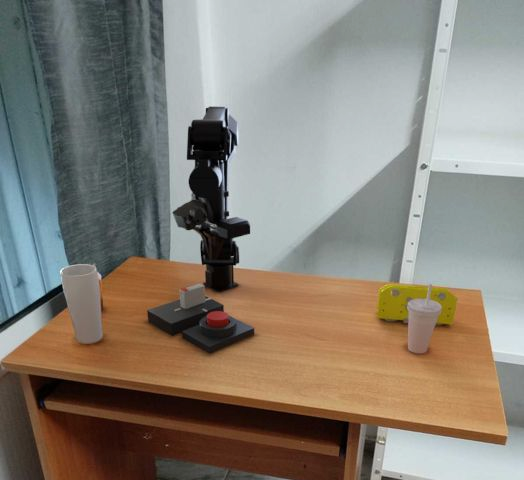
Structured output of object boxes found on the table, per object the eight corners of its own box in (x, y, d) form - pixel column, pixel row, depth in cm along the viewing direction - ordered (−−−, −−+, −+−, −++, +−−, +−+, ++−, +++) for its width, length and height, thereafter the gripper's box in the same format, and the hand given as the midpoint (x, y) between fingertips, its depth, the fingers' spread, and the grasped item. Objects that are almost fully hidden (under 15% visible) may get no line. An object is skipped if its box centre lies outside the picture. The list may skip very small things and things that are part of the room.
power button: (219, 316, 112) (219, 309, 111) (233, 323, 110) (233, 315, 109) (202, 322, 110) (202, 315, 109) (216, 330, 107) (216, 322, 106)
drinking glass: (113, 335, 111) (104, 266, 104) (91, 349, 106) (80, 278, 98) (88, 329, 114) (77, 261, 106) (65, 342, 108) (52, 272, 101)
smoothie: (415, 359, 104) (427, 292, 97) (394, 345, 109) (403, 280, 102) (440, 352, 106) (453, 286, 99) (418, 338, 111) (429, 275, 104)
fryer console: (198, 304, 125) (197, 291, 124) (225, 317, 119) (224, 304, 118) (147, 322, 117) (145, 308, 115) (173, 337, 111) (172, 323, 109)
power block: (226, 321, 118) (226, 306, 116) (254, 335, 112) (254, 320, 110) (182, 338, 110) (180, 323, 109) (209, 354, 105) (208, 338, 103)
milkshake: (110, 305, 124) (104, 264, 119) (102, 315, 120) (95, 272, 115) (91, 304, 125) (84, 263, 120) (82, 314, 120) (75, 272, 115)
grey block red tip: (200, 299, 120) (199, 282, 118) (205, 302, 119) (204, 284, 117) (180, 306, 117) (179, 288, 115) (185, 309, 116) (184, 291, 113)
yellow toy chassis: (376, 322, 118) (380, 286, 114) (376, 311, 123) (380, 277, 119) (451, 328, 115) (459, 293, 111) (448, 317, 120) (455, 282, 116)
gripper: (151, 184, 110) (157, 257, 118) (207, 201, 99) (210, 280, 106) (194, 177, 117) (197, 246, 125) (252, 192, 105) (252, 267, 113)
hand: (212, 259), depth 117 cm, fingers closed
